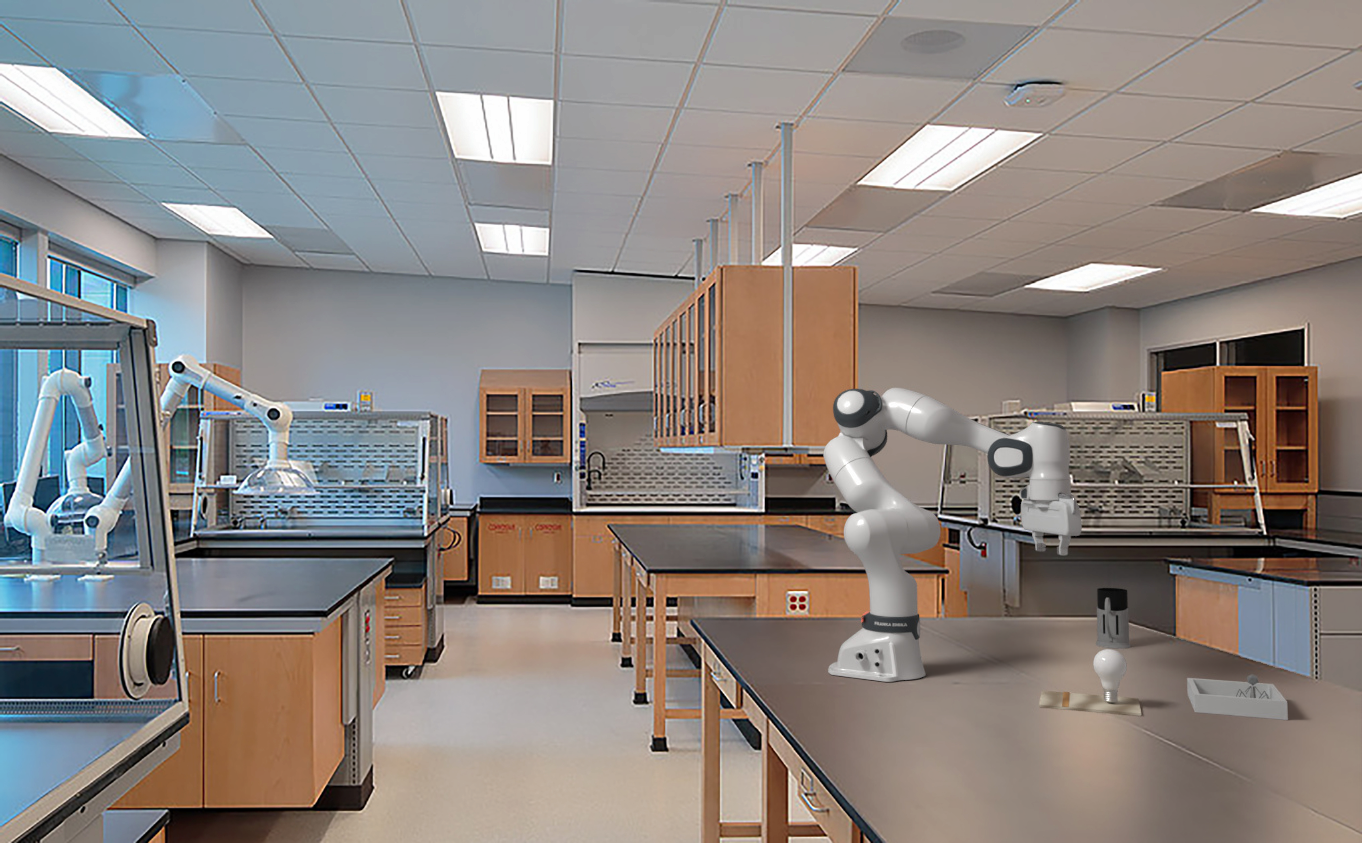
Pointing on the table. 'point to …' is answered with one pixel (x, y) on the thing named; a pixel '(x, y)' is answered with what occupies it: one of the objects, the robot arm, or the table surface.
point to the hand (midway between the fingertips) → (1051, 553)
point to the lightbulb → (1110, 672)
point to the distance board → (1089, 703)
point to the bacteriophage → (1252, 680)
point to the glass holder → (1112, 618)
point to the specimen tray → (1236, 699)
